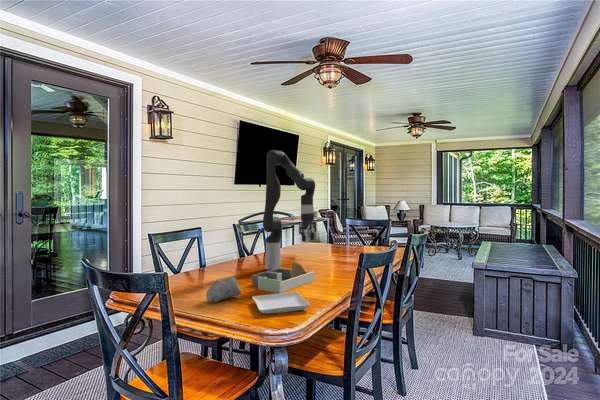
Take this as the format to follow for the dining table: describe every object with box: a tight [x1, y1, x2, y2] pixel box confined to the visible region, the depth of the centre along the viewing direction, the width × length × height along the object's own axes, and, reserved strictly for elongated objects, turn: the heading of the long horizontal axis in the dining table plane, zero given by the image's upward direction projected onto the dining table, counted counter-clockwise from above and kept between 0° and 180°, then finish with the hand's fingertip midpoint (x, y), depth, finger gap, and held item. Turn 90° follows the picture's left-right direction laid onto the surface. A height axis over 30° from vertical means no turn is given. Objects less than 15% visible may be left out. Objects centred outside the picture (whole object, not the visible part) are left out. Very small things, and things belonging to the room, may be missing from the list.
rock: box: [290, 262, 307, 279], centre depth 209 cm, size 11×9×10 cm
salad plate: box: [252, 291, 310, 315], centre depth 162 cm, size 21×21×3 cm
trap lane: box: [251, 267, 316, 294], centre depth 204 cm, size 23×31×6 cm
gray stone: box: [205, 276, 242, 304], centre depth 174 cm, size 16×15×10 cm
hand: (308, 240), depth 219 cm, fingers open, 8 cm apart
